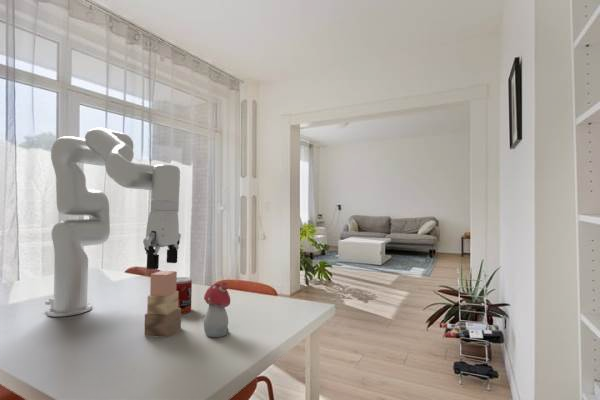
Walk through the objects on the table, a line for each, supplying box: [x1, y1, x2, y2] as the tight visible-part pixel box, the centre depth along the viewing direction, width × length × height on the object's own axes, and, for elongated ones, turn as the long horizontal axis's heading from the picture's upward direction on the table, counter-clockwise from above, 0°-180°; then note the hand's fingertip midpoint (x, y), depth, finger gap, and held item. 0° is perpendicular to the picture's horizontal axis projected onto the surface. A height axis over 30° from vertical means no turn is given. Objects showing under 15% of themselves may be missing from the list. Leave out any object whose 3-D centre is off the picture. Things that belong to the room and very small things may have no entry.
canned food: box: [176, 276, 193, 315], centre depth 110 cm, size 8×8×11 cm
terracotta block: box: [149, 270, 178, 296], centre depth 92 cm, size 5×5×6 cm
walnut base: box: [144, 308, 182, 338], centre depth 91 cm, size 7×7×6 cm
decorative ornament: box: [203, 281, 231, 338], centre depth 90 cm, size 9×7×15 cm
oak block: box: [146, 291, 178, 315], centre depth 92 cm, size 6×6×5 cm
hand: (162, 265), depth 92 cm, fingers open, 9 cm apart
